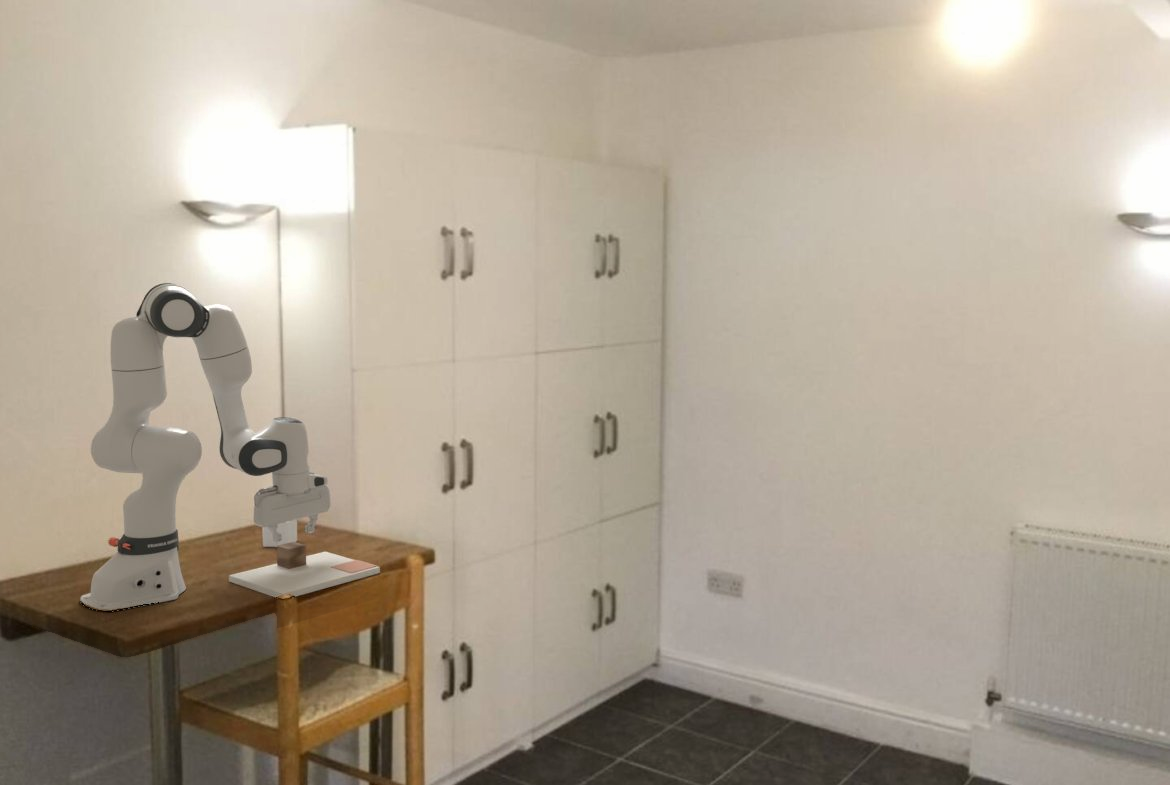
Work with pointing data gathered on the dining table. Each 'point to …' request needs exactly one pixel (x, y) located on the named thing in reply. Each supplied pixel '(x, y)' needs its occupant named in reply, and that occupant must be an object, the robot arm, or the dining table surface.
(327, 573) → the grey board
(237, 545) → the dining table surface
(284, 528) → the medicine bottle
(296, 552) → the walnut cube
